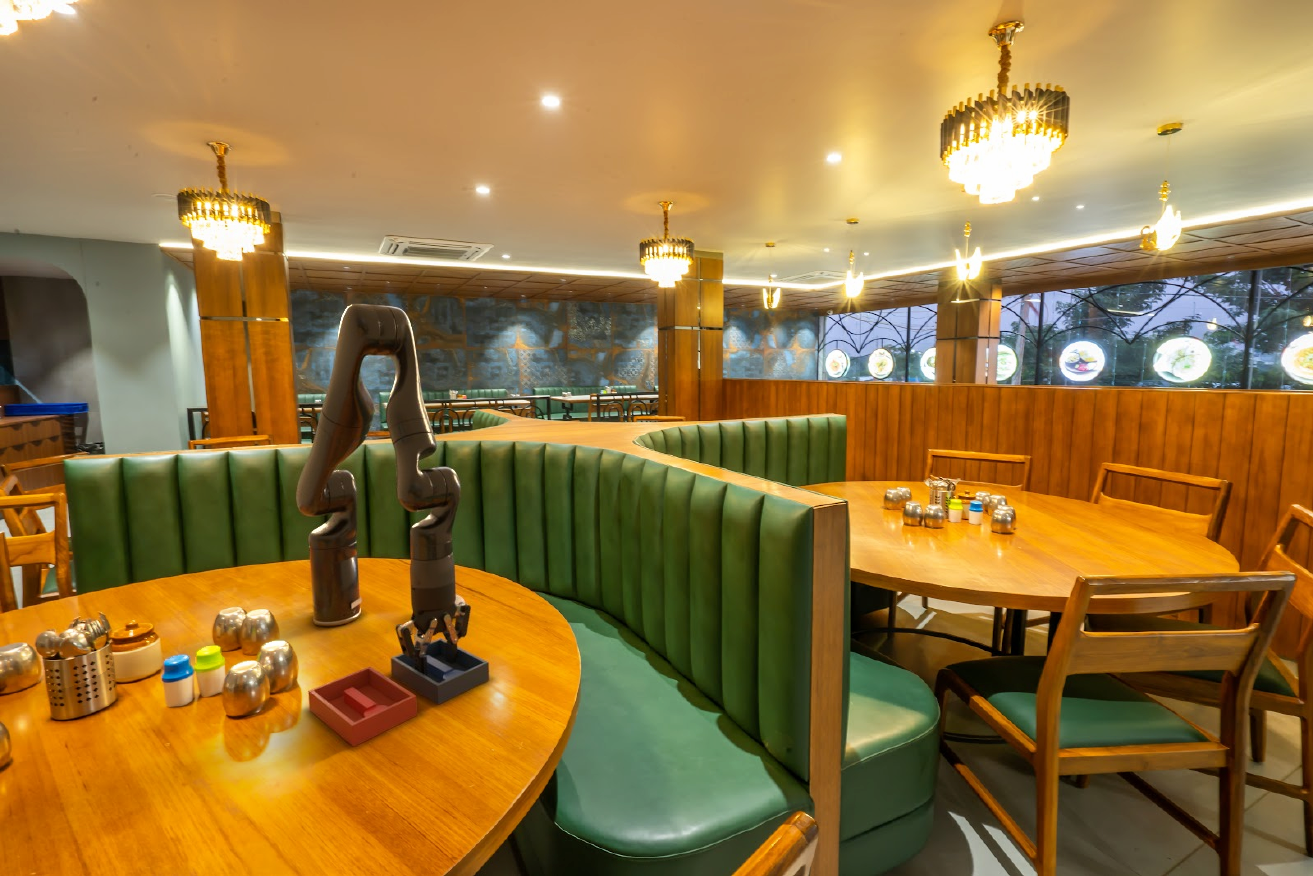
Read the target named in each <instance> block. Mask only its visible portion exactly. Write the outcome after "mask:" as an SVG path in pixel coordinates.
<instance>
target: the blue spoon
mask: <svg viewBox="0 0 1313 876" xmlns="http://www.w3.org/2000/svg"><path fill="white" fill-rule="evenodd" d="M427 672H428V673H430V674H432V675H433V676H435V677H437V678H438V679H440V680H442V681H445V680H447V679H450V678H452V677H454V676H456V675H458V674H460V673H463V671H461V670H453V669H452V668H451V667H449V666H447V665H445V664H443V663H442V662H440V661H438V660H436V659H434V658H433V657H431V656H429V655H427Z"/></svg>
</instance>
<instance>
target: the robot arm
mask: <svg viewBox="0 0 1313 876" xmlns="http://www.w3.org/2000/svg"><path fill="white" fill-rule="evenodd" d="M416 350H417V349H416V344H415V337H414V333H413V329H412V326H411V322H410V319H409V317H408V315H407V314H406V312H405V311H404V310H403V309H401V308H399V307H396V306H390V305H379V304H368V303H367V304H366V303H353V304H350V305H349V306H347V307H346V309H345V310H344V312H343V314H342V316H341V319H340V323H339V328H338V334H337V340H336V347H335V352H334V353H335V354H334V361H333V367H332V371H331V375H330V379H329V383H328V387H327V391H326V394H325V397H324V400H323V403H322V407H321V410H320V414H319V416H318V417H319V418H318V421H317V427H316V432H315V435H314V438H313V442H312V446H311V449H310V451H309V454H308V456H307V459H306V461H305V464H304V466H303V468H302V471H301V474H300V476H299V479H298V481H297V486H296V490H295V501H296V506H297V509H298V511H299V512H300V513H301V514H302V515H303V516H306V517H321V516H326V515H331V516H330V517H329V519H328V520H327V521H326V522H325V523H323V524H322V525H320V526H318V527H317V528H314V529H313V530H312V531H311V532H310V533H309V535H308V538H307V539H308V552H309V566H310V581H311V582H310V583H311V597H312V598H311V599H312V612H313V616H312V619H313V620H312V621H313V622H312V623H313V624H314V625H316V626H317V627H318V626H319V627H337V626H341V625H345V624H348V623H351V622H353V621H356V620H357V619H359V618H360V617H361V616H362V608H361V603H362V602H363V601H362V596H361V594H360V593H361V592H360V576H359V574H360V573H359V559H358V547H357V546H358V543H357V534H358V533H357V532H358V486H357V482H356V478H355V477H354V475H353V473H351V471H350V470H347V469H337V470H336V468H338V467H339V466H340V464H342V463H343V462H344V461H345V460H346V459H347V458H349V457H350V456H352V454H353V453H354V452H355V451H357V449H358V448H360V446H361V445H362V444H363V443H364V442H365V441H366V439H367V437H368V435H369V432H370V430H371V426H372V423H373V420H374V417H375V412H376V410H375V404H374V400H373V398H372V396H371V394H370V392H369V390H368V388H367V387H366V385H365V383H364V380H363V378H362V374H361V372H362V371H361V370H362V364H363V361H364V359H365V358H366V357H367V356H372V357H373V356H374V357H375V356H379V357H380V356H381V357H390V358H391V360H392V362H393V365H394V370H395V376H394V377H395V378H394V382H393V386H392V388H391V392H390V394H389V397H388V401H387V404H386V408H385V422H386V427H387V430H388V433H389V437H390V441H391V443H392V446H393V449H394V454H395V475H396V476H395V491H396V493H395V494H396V498H397V500H398V502H399V504H400V505H401V506H402V508H404V509H405V510H406V511H409V512H412V513H413V512H414V513H416V512H417V513H418V512H421V511H422V512H423V511H427V510H430V512H429V514H428V515H427V516H426V517H425V518H423V519H421V520H420V521H418V522H415V523H414V524H412V525H411V527H410V530H409V545H410V547H409V548H410V550H409V551H410V562H409V563H410V564H409V581H410V583H409V585H410V601H411V602H410V603H411V609H412V614H411V617H410V620H408V621H407V622H406V623H404V624H400V623H399V624H396V625H395V632H396V633H395V634H396V636H397V640H398V643H399V646H400V649H401V652H402V653H403V654H405V655H407V656H409V657H410V658H414V664H415V670H417V671H418V672H420V673H422V674H424V675H425V676H426V675H427V674H428V672H427V656H426V651H427V648H428V645H429V644H430V643H431V642H432V641H433V637H435V636H436V635H438V634H441V633H442V635H443V637H444V640H446V641H447V642H445V657H446V661H447V662H448V663H450V664H453V663H455V662H456V659H457V656H458V654H457V647H458V642H459V640H460V639H462V638H465V637H466V636H467V634H468V628H469V621H470V615H471V608H472V607H471V605H470V604H467V603H466V602H465V603H463V602H460V603H459V604H458V605H456V604H455V601H456V595H457V592H456V591H457V590H456V589H457V587H456V563H455V559H454V551H453V528H454V524H455V520H456V515H457V511H458V507H459V504H460V500H461V499H460V498H461V495H462V493H461V492H462V486H461V485H462V484H461V481H460V478H459V475H458V474H457V472H456V471H455V470H454V469H453V468H452V467H449V466H436V467H431V468H423V469H420V467H419V463H420V461H422V460H424V459H426V458H429V457H431V456H432V455H434V454H435V453H436V451H437V449H438V445H437V444H438V443H437V441H436V440H437V439H436V437H435V434H434V431H433V427H432V424H431V421H430V418H429V414H428V412H427V408H426V405H425V401H424V396H423V392H422V385H421V377H420V368H419V364H418V357H417V351H416ZM455 613H456V617H454V615H455ZM454 618H455V620H454ZM453 620H454V623H453ZM414 628H415V629H416V630H415V633H413V632H414V631H413V629H414ZM412 635H413V636H414V637H413V638H412ZM413 639H414V641H413ZM402 653H401V654H402Z"/></svg>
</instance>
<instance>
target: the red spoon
mask: <svg viewBox="0 0 1313 876" xmlns="http://www.w3.org/2000/svg"><path fill="white" fill-rule="evenodd" d="M343 692H344V702H345V703H346V704H348V705H349V706H350V707H352V708H353V709H354V710H356V711H357V712H358V713H360V714H361V715H362V716H364V718H365V717H367V716H369V715H372V714H374V713H376V712H378V711H380V710H382V709H385V708H387V706H385V705H378V706H377V705H376V703H375V702H373V701H372V700H370V699H369V698H368V697H366V696H365V695H363V694H362V693H361V692H359V691H358V690H356V689H355V688H354V687H352V688H349V689H347V690H344V691H343Z"/></svg>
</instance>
